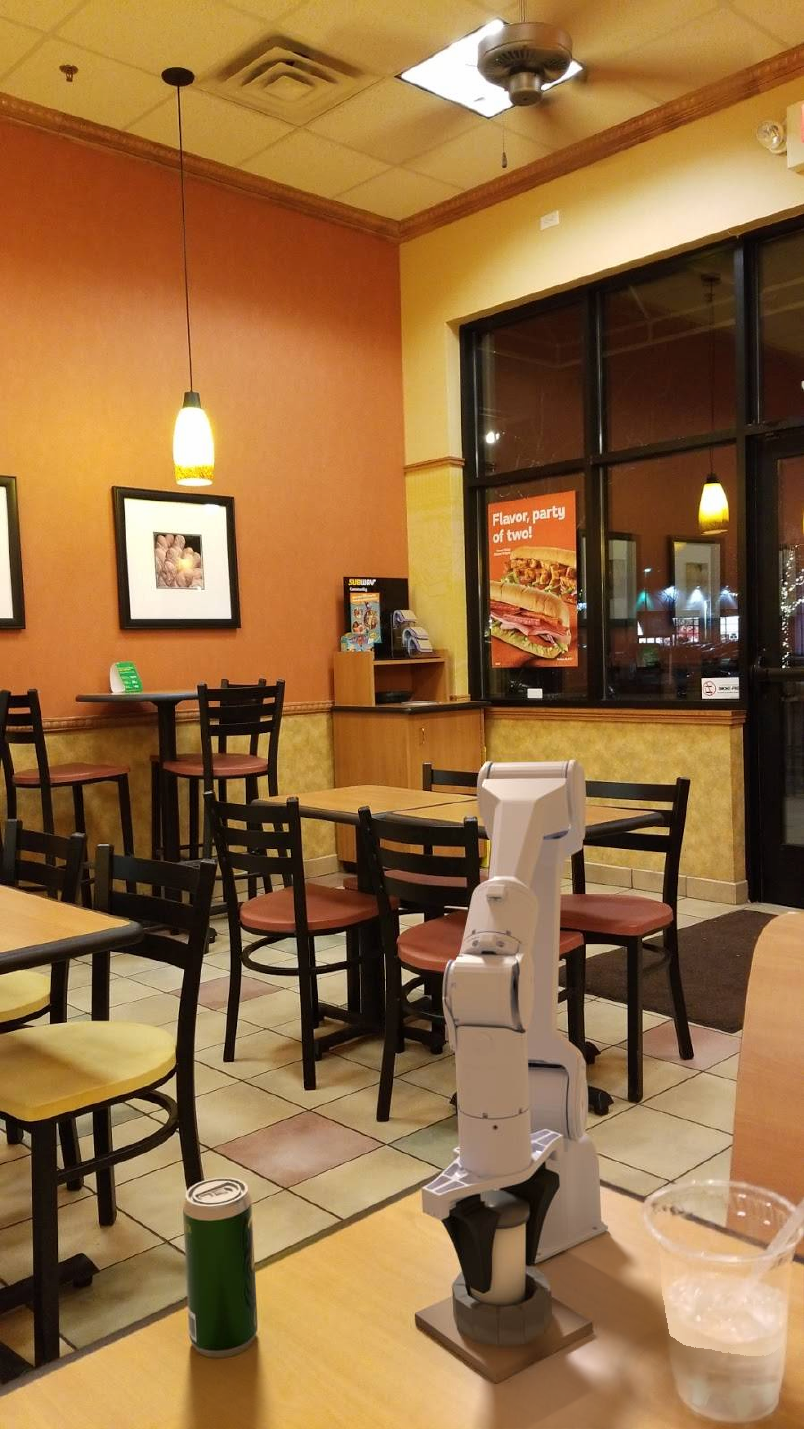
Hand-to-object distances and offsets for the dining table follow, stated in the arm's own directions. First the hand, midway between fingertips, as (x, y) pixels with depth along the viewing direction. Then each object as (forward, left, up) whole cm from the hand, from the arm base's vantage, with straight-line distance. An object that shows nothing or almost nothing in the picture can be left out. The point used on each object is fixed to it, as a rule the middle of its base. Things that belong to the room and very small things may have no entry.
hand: (500, 1273), depth 88 cm
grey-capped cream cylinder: (0, 0, -2) cm, 2 cm away
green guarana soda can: (+18, -13, -4) cm, 23 cm away
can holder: (0, 0, -4) cm, 4 cm away
